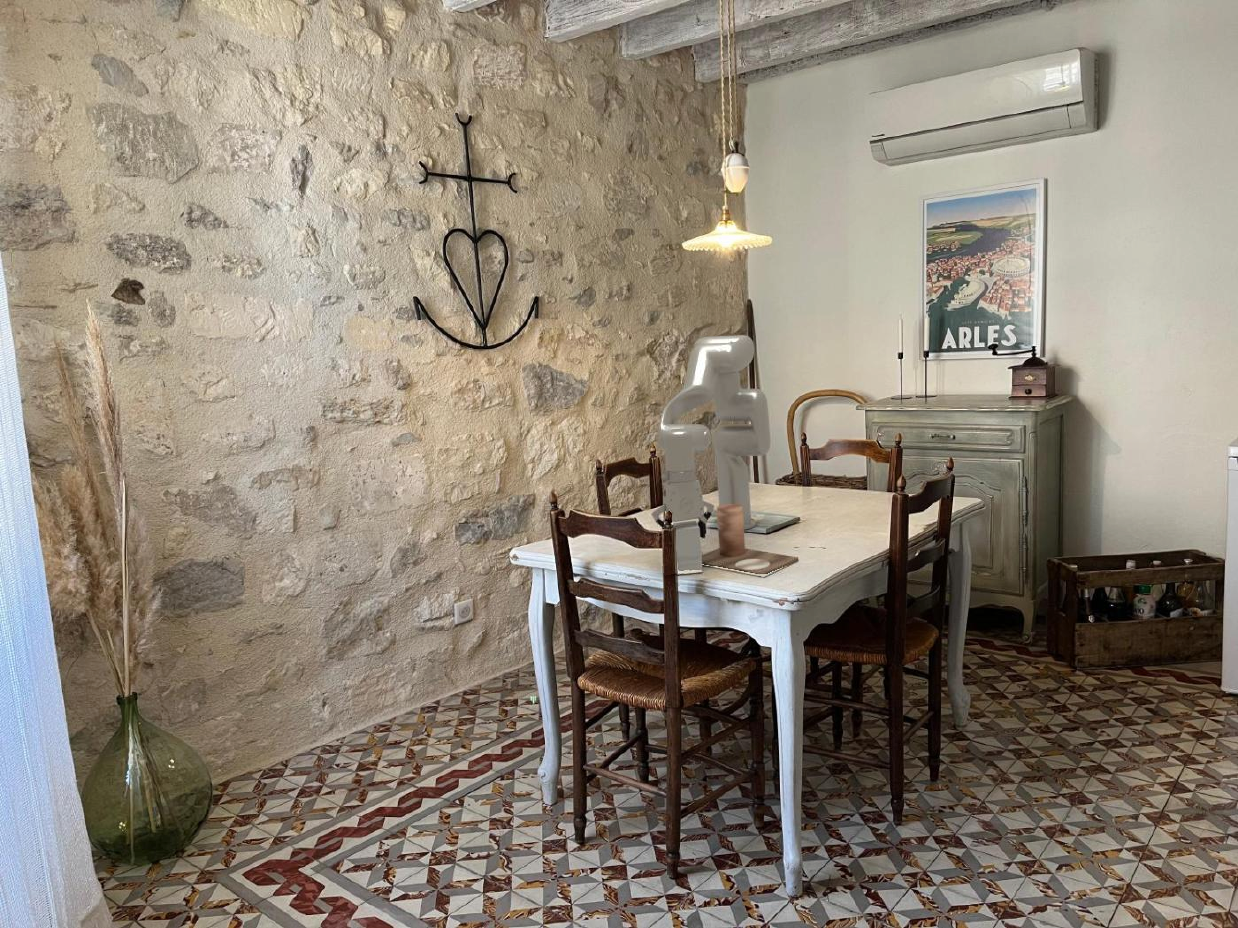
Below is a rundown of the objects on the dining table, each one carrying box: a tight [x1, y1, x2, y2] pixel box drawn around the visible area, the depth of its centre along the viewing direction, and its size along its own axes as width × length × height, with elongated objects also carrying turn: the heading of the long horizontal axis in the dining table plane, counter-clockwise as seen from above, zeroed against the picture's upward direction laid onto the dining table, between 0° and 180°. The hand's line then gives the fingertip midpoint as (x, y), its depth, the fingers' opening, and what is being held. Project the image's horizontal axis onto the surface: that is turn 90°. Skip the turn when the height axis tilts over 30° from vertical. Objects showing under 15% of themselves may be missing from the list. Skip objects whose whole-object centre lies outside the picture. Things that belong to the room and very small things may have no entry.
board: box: [701, 504, 799, 574], centre depth 252 cm, size 24×16×14 cm, turn 47°
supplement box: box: [672, 520, 704, 571], centre depth 249 cm, size 7×7×13 cm
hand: (684, 539), depth 248 cm, fingers open, 9 cm apart
